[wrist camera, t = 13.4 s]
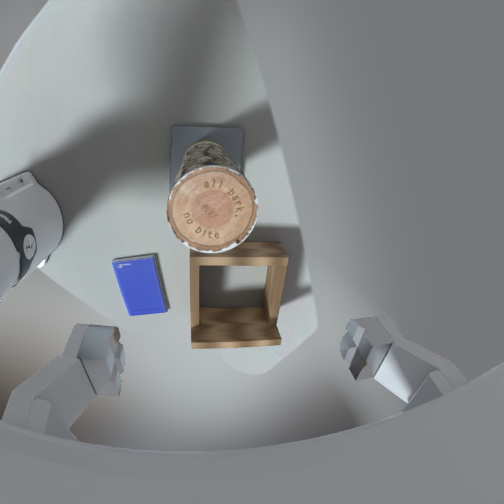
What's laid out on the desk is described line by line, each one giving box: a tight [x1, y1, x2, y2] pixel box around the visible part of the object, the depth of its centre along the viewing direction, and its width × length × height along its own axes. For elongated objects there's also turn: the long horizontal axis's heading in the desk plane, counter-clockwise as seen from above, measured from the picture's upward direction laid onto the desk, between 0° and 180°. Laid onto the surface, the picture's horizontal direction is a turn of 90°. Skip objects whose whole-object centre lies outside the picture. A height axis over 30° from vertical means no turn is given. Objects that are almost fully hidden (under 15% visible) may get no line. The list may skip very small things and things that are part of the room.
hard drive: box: [112, 255, 168, 316], centre depth 51 cm, size 2×8×12 cm
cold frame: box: [190, 242, 289, 349], centre depth 50 cm, size 16×16×10 cm
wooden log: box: [167, 140, 258, 253], centre depth 32 cm, size 7×7×25 cm
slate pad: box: [170, 126, 244, 192], centre depth 43 cm, size 11×11×1 cm
